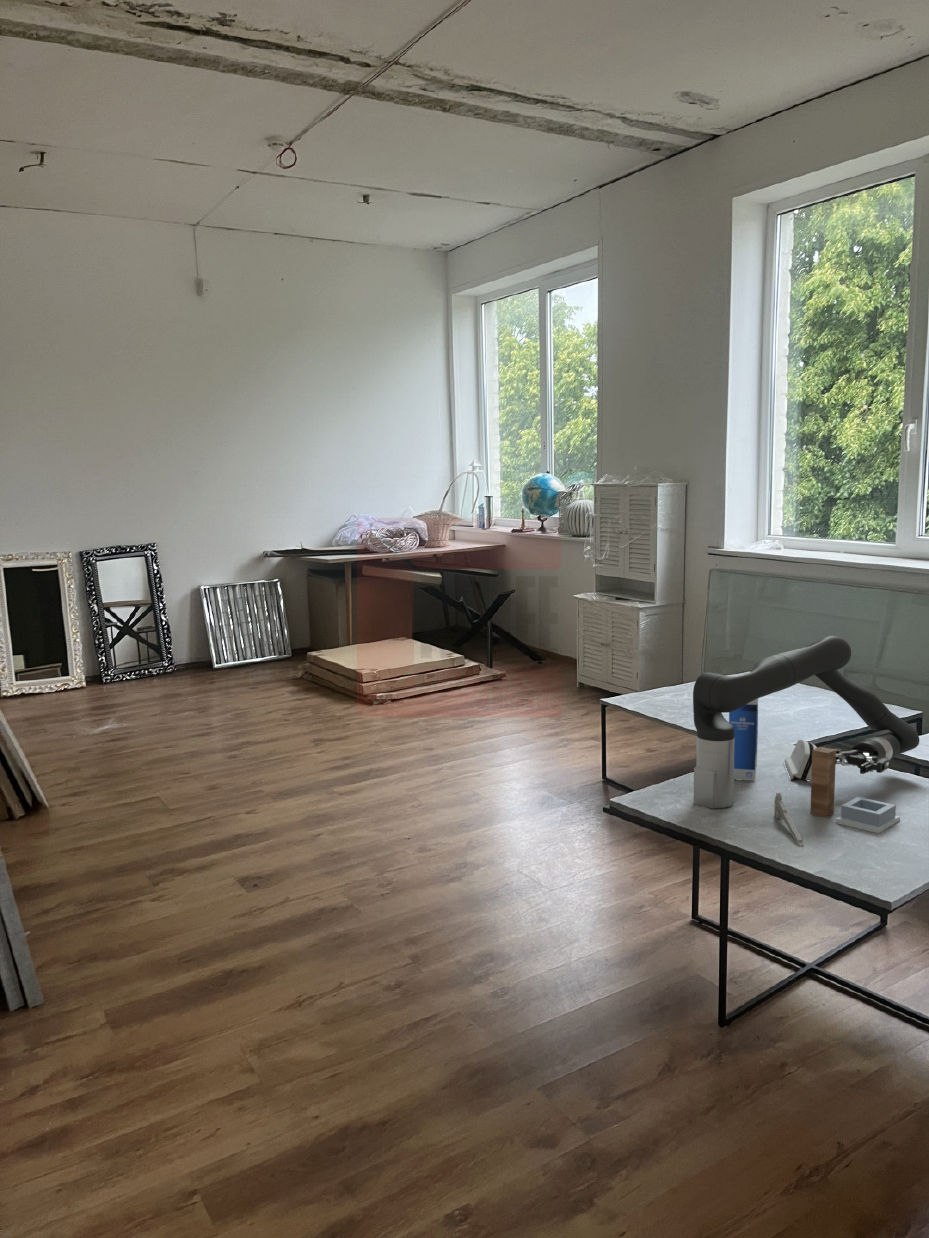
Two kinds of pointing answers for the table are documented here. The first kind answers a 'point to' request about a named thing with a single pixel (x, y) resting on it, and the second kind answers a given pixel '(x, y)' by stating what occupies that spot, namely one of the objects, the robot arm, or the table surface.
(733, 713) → the string lights box
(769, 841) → the table surface
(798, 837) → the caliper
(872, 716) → the robot arm
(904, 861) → the table surface
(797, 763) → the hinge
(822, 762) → the walnut rail
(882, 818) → the base
